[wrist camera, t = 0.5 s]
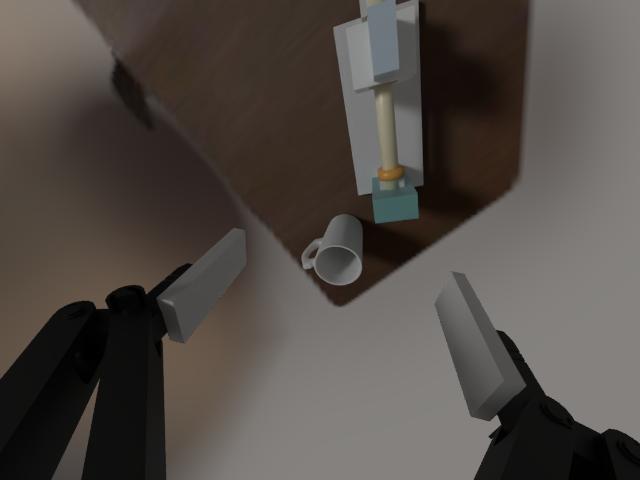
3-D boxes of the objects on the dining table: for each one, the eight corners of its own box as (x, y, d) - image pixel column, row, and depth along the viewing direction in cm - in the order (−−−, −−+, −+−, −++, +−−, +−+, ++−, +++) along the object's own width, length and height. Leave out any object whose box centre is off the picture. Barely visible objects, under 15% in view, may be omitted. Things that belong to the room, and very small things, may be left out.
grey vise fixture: (334, 29, 31) (315, -12, 20) (416, 1, 28) (443, -63, 18) (359, 196, 40) (355, 225, 30) (422, 186, 38) (441, 215, 27)
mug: (359, 208, 42) (356, 241, 31) (367, 242, 44) (366, 282, 34) (306, 220, 44) (286, 253, 34) (316, 250, 47) (301, 289, 37)
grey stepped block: (350, 44, 27) (340, 11, 18) (405, 26, 26) (424, -20, 17) (356, 94, 29) (350, 86, 20) (408, 80, 28) (426, 65, 19)
